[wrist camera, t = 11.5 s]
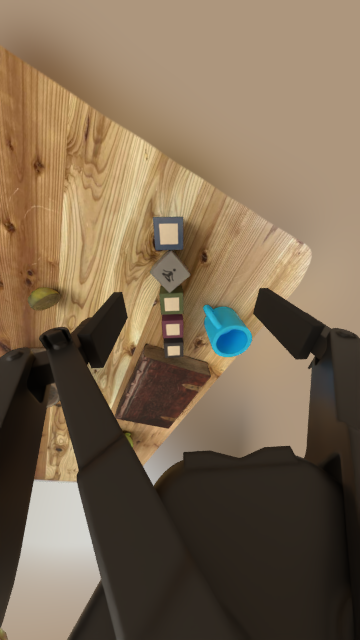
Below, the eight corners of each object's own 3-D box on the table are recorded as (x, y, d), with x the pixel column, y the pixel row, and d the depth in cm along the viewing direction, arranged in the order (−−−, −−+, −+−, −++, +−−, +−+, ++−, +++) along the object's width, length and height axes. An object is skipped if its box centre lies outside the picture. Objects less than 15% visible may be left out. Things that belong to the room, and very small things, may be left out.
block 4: (182, 331, 39) (183, 343, 35) (182, 345, 42) (183, 357, 38) (164, 332, 39) (163, 343, 35) (165, 345, 42) (164, 358, 38)
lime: (62, 286, 32) (45, 295, 28) (65, 306, 34) (50, 318, 30) (37, 281, 31) (16, 290, 27) (42, 303, 34) (24, 314, 29)
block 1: (181, 218, 27) (183, 216, 23) (181, 246, 29) (183, 249, 25) (155, 218, 27) (152, 217, 23) (157, 247, 29) (155, 250, 25)
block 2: (181, 285, 33) (183, 293, 29) (181, 304, 36) (183, 314, 32) (160, 285, 33) (159, 294, 29) (162, 305, 35) (161, 315, 31)
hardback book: (145, 343, 41) (142, 357, 36) (207, 362, 46) (210, 376, 41) (118, 404, 54) (113, 419, 49) (168, 413, 59) (168, 428, 54)
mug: (243, 322, 39) (259, 343, 32) (216, 339, 41) (225, 362, 34) (216, 287, 34) (228, 303, 27) (187, 310, 36) (191, 330, 29)
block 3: (181, 310, 36) (183, 320, 32) (182, 326, 39) (183, 337, 35) (162, 311, 36) (161, 321, 32) (163, 327, 38) (163, 338, 34)
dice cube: (152, 266, 31) (149, 272, 27) (171, 247, 29) (171, 251, 25) (169, 284, 33) (169, 293, 29) (187, 268, 31) (190, 275, 27)
